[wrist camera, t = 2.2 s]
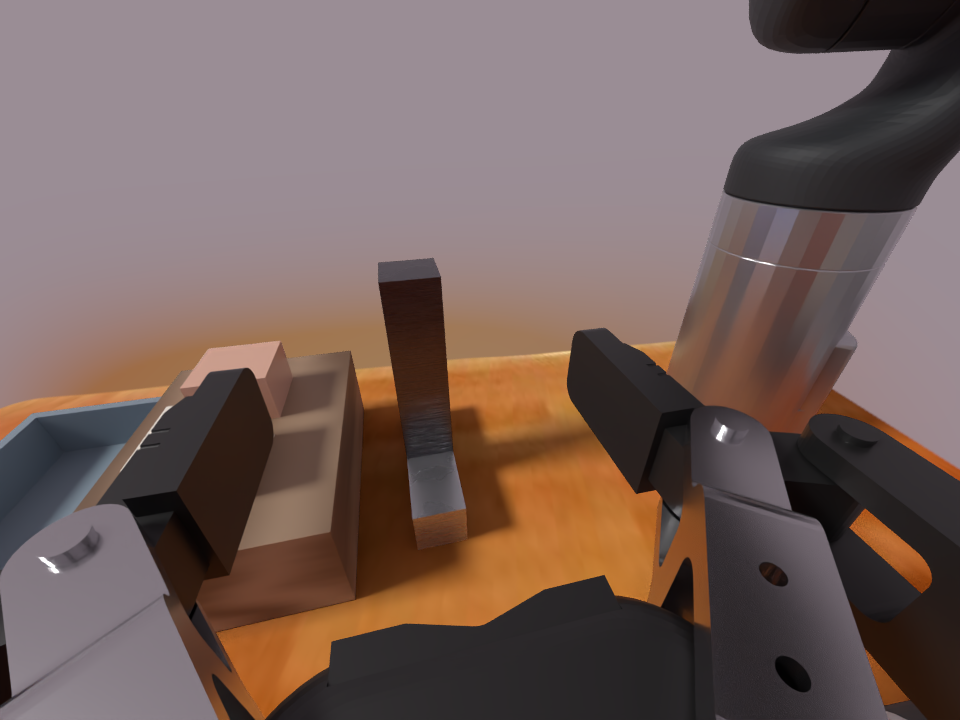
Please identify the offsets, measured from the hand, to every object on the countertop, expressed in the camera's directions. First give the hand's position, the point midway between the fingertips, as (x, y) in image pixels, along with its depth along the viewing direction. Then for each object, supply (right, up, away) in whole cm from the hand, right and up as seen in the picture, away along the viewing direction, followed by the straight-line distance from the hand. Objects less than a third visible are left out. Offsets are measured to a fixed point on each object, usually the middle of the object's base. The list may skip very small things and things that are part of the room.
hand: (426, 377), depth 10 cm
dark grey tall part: (-2, -7, +18) cm, 20 cm away
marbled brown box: (-13, -9, +16) cm, 22 cm away
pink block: (-14, -2, +15) cm, 21 cm away
